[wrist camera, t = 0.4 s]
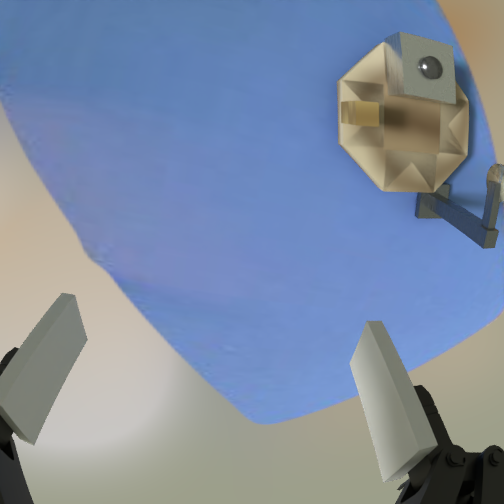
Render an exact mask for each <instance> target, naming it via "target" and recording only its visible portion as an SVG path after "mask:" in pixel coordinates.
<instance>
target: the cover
mask: <svg viewBox="0 0 504 504" xmlns="http://www.w3.org/2000/svg"><path fill="white" fill-rule="evenodd" d="M385 50H386V63H387V82H388V95H392V96H399V97H406V98H412V99H418V100H424V101H429V102H434V103H447V104H456V87H455V69H454V57H453V47H452V46H451V45H447V44H444V43H441V42H438V41H434V40H431V39H427V38H424V37H420V36H416V35H412V34H408V33H403V32H398V33H396V34H393V35H391V36H389V37H387V38H385Z"/></svg>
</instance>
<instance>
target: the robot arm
mask: <svg viewBox="0 0 504 504" xmlns="http://www.w3.org/2000/svg"><path fill="white" fill-rule="evenodd" d="M86 341H87V336H86V333H85V330H84V326H83V323H82V319H81V316H80V312H79V309H78V305H77V301H76V297H75V295H72V294H66V293H62V294H61V295H60V296H59V297H58V298H57V300H56V301H55V302H54V303H53V305H52V306H51V307H50V308H49V310H48V311H47V312H46V314H45V315H44V316H43V318H41V320H40V321H39V323H38V324H37V325H36V327H35V328H34V329H33V330H32V332H31V333H30V334H29V336H28V337H27V339H26V340H25V341H24V342H23V344H22V345H21V347H20V348H16V347H15V348H13V349H12V350H11V351H9V352H8V353H7V354H6V355H5V356H4V358H3V359H2V361H1V362H0V504H34V503H33V500H32V498H31V495H30V492H29V490H28V487H27V484H26V481H25V478H24V475H23V471H22V469H21V465H20V461H19V458H18V454H17V451H16V447H15V443H14V440H13V438H12V434H13V432H14V433H15V434H16V435H17V436H18V437H19V438H20V439H21V440H23V441H25V442H27V443H29V444H32V445H34V444H35V442H36V440H37V438H38V435H39V433H40V431H41V429H42V427H43V424H44V422H45V420H46V418H47V416H48V414H49V412H50V410H51V407H52V405H53V403H54V401H55V399H56V397H57V395H58V393H59V391H60V389H61V387H62V385H63V384H64V382H65V380H66V378H67V376H68V374H69V372H70V370H71V369H72V366H73V365H74V363H75V361H76V359H77V357H78V356H79V354H80V352H81V350H82V349H83V347H84V345H85V343H86ZM350 367H351V370H352V373H353V376H354V379H355V383H356V386H357V389H358V392H359V396H360V399H361V402H362V405H363V409H364V412H365V416H366V419H367V423H368V426H369V430H370V433H371V437H372V441H373V444H374V448H375V452H376V456H377V460H378V463H379V467H380V471H381V475H382V479H383V482H388V481H393V480H397V479H401V478H402V477H403V476H404V475H405V474H407V473H408V474H409V479H408V480H407V481H406V482H404V483H403V484H402V485H400V487H399V488H398V489H397V490H400V489H402V488H403V487H404V488H403V490H402V492H401V494H400V496H399V498H398V499H397V501H396V503H395V504H504V451H503V449H501V448H500V447H499V446H496V445H492V446H489V447H488V448H487V449H485V450H484V451H483V452H482V453H469V452H465V451H464V449H463V448H461V447H460V446H458V445H453V444H452V442H451V440H450V438H449V436H448V433H447V430H446V428H445V426H444V423H443V421H442V419H441V417H440V414H438V410H437V408H436V406H435V405H434V401H433V399H432V397H431V395H430V393H429V392H428V391H427V390H426V389H425V388H424V387H423V386H422V385H418V386H413V384H412V382H411V380H410V378H409V376H408V374H407V371H406V369H405V367H404V365H403V363H402V361H401V359H400V357H399V355H398V353H397V351H396V348H395V346H394V344H393V342H392V340H391V338H390V336H389V334H388V332H387V330H386V329H385V327H384V325H383V323H382V321H367V322H366V324H365V327H364V330H363V332H362V335H361V337H360V340H359V342H358V345H357V347H356V350H355V352H354V354H353V357H352V359H351V362H350Z"/></svg>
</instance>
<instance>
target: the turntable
mask: <svg viewBox="0 0 504 504" xmlns="http://www.w3.org/2000/svg"><path fill="white" fill-rule="evenodd" d="M455 87H456V104H447V103H434V102H429V101H424V100H418V99H412V98H406V97H399V96H392V95H388V82H387V63H386V50H385V43H384V42H382V43H380V44H378V45H376V46H375V47H374V48H373V49H372V50H371V51H369V52H368V53H367V54H366V55H365V56H364V57H363V58H362V59H361V60H360V61H358V62H357V63H356V64H355V65H354V66H353V67H352V68H351V69H350V70H349V71H348V72H347V73H345V74H344V75H343V76H342V77H341V78H340V79H339V80H338V81H337V99H338V144H339V145H340V146H341V147H342V148H343V149H344V150H345V151H346V152H347V153H348V155H349V156H350V157H351V158H352V159H353V160H354V161H355V162H356V163H357V164H358V166H359V167H360V168H361V169H362V170H363V171H364V172H365V173H366V175H367V176H368V177H369V178H370V179H371V180H372V182H373V183H374V184H375V185H376V186H377V187H378V188H379V189H381V190H382V191H391V192H426V193H434V192H435V191H436V190H437V189H438V188H439V187H440V185H441V184H442V183H443V182H444V181H445V180H446V179H447V178H448V177H449V176H450V175H451V174H452V172H453V171H454V170H455V169H456V168H457V167H458V166H459V165H460V164H461V162H462V161H463V160H464V159H465V158H466V157H467V150H468V132H469V101H468V99H467V97H466V96H465V94H464V93H463V91H462V90H461V88H460V87H459V85H458V84H457V82H456V81H455Z"/></svg>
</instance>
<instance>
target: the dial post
mask: <svg viewBox="0 0 504 504" xmlns="http://www.w3.org/2000/svg"><path fill="white" fill-rule="evenodd" d="M449 188H450V185H449V184H447V183H442V184H441V185H440V187H439V188H438V189H437V190H436V191H435V192H434V193H426V192H418V194H417V203H416V211H415V216H416V217H417V218H443V219H444V220H446V221H447V222H449V223H450V224H451V225H453V226H454V227H456V228H457V229H458V230H460V231H461V232H462V233H464V234H465V235H466V236H468V237H469V238H470V239H472V240H473V241H474V242H476V243H477V244H478V245H479V246H481V247H482V248H483V249H484V248H495V244H496V240H497V236H498V232H499V231H498V230H497V229H495V224H496V219H497V214H498V209H499V204H500V202H504V165H502V164H494V165H492V166H491V168H490V169H489V171H488V174H487V196H486V202H485V208H484V214H483V219H480V218H478V217H477V216H475V215H474V214H472V213H471V212H469V211H467V210H466V209H464V208H462V207H461V206H459V205H457V204H456V203H454V202H452V201H451V200H449V199H448V196H449Z"/></svg>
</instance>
